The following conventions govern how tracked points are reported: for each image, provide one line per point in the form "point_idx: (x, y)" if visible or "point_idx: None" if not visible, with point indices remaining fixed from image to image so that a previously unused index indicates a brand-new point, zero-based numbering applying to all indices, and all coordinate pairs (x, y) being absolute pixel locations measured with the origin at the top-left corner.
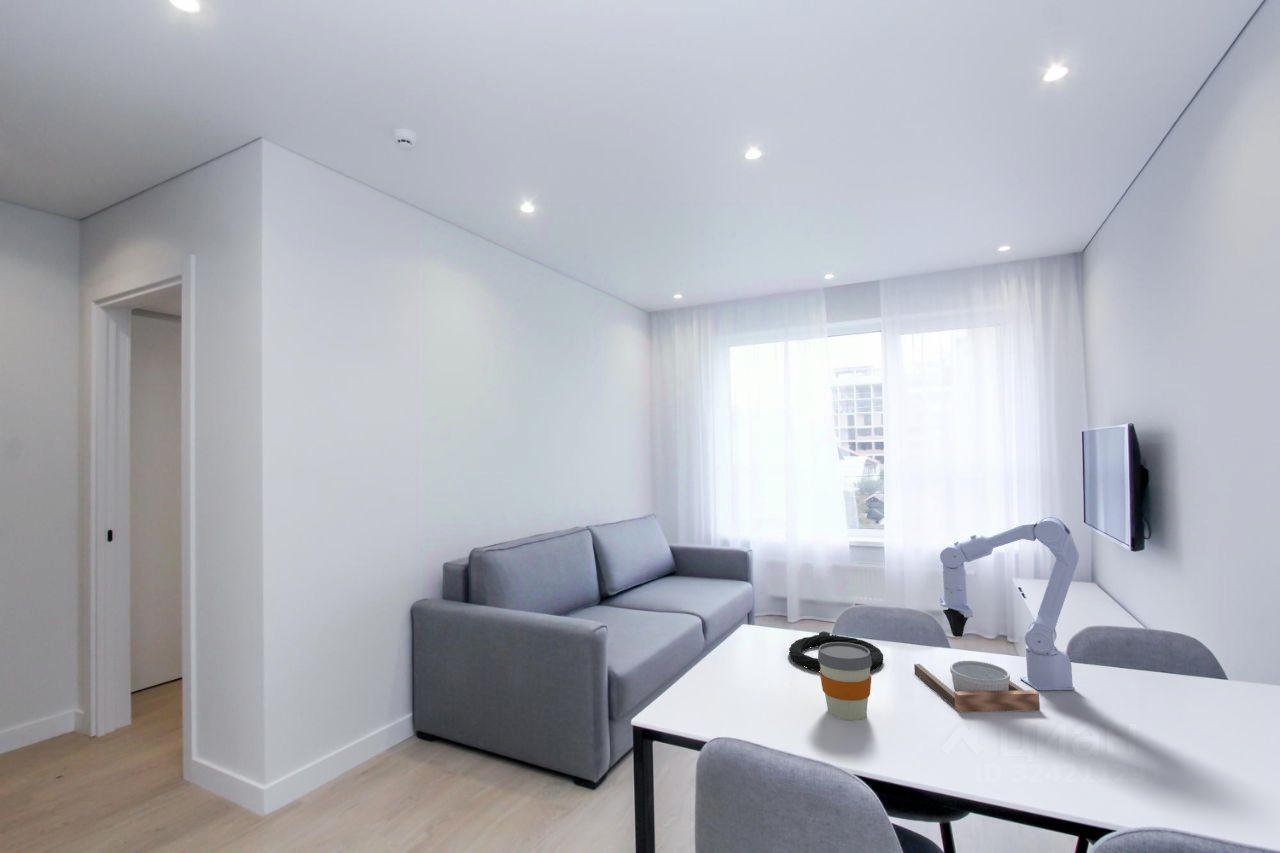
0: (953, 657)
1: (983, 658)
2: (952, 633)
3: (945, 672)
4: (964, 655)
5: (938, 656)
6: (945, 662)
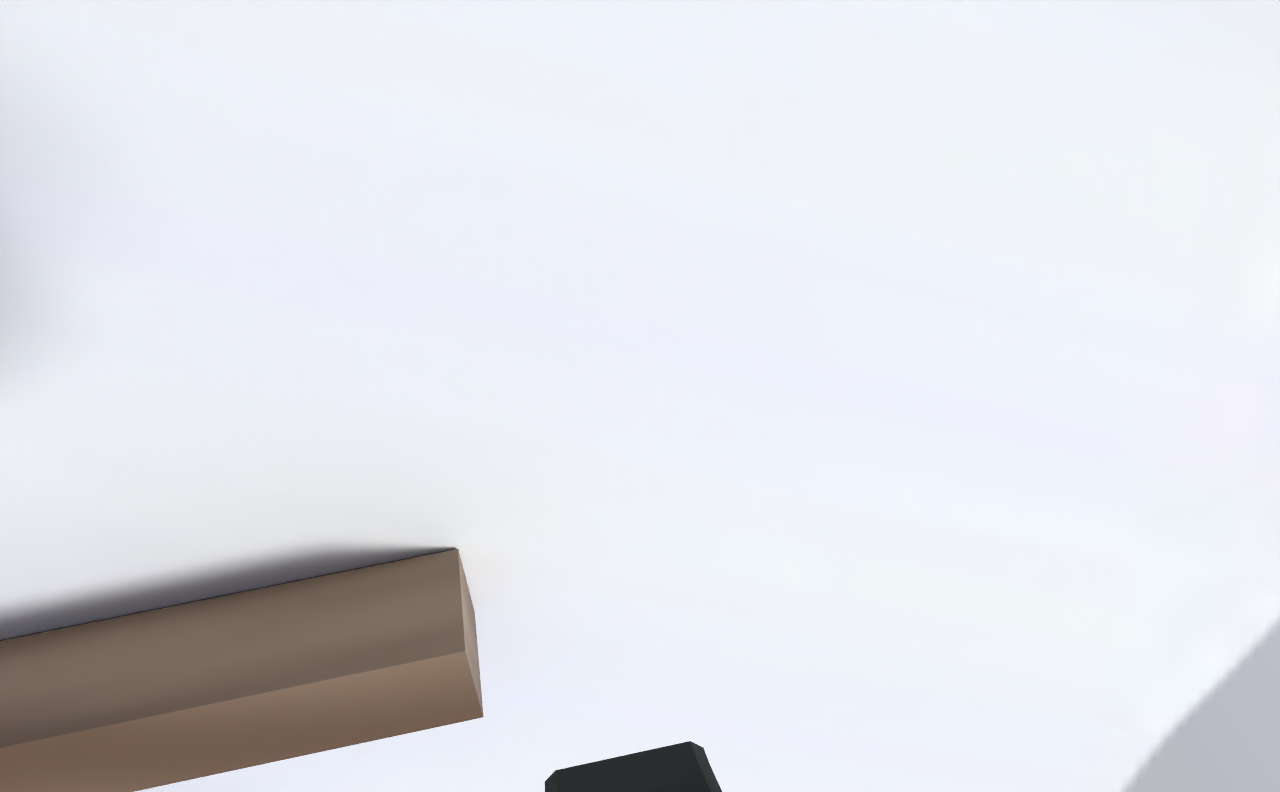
0: (1104, 371)
1: (1006, 707)
2: (689, 784)
3: (325, 34)
4: (1157, 530)
5: (1195, 150)
6: (887, 187)
